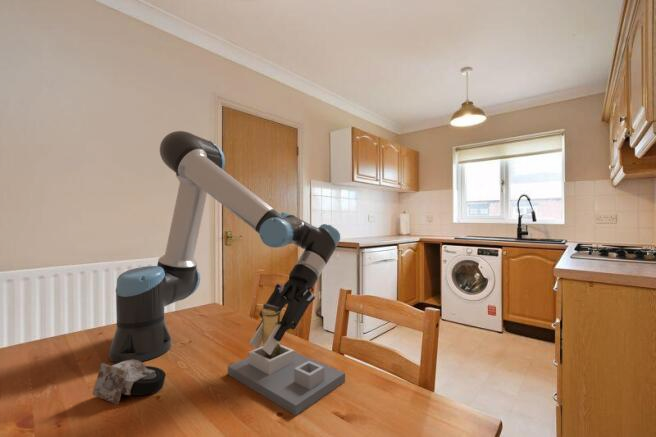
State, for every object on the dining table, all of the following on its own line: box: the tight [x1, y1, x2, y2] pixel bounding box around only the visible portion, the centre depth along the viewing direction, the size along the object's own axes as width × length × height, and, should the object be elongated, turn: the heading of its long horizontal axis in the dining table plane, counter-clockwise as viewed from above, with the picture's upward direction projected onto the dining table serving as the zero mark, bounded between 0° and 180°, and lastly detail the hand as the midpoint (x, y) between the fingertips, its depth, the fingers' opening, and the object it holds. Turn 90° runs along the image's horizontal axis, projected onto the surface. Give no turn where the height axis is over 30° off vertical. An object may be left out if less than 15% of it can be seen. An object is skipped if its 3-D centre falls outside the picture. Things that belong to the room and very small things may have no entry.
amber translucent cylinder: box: [261, 303, 282, 359], centre depth 76 cm, size 5×5×13 cm
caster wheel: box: [92, 360, 167, 405], centre depth 68 cm, size 7×11×10 cm
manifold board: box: [227, 344, 346, 416], centre depth 73 cm, size 24×16×5 cm, turn 50°
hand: (259, 348), depth 73 cm, fingers closed on amber translucent cylinder, 4 cm apart
